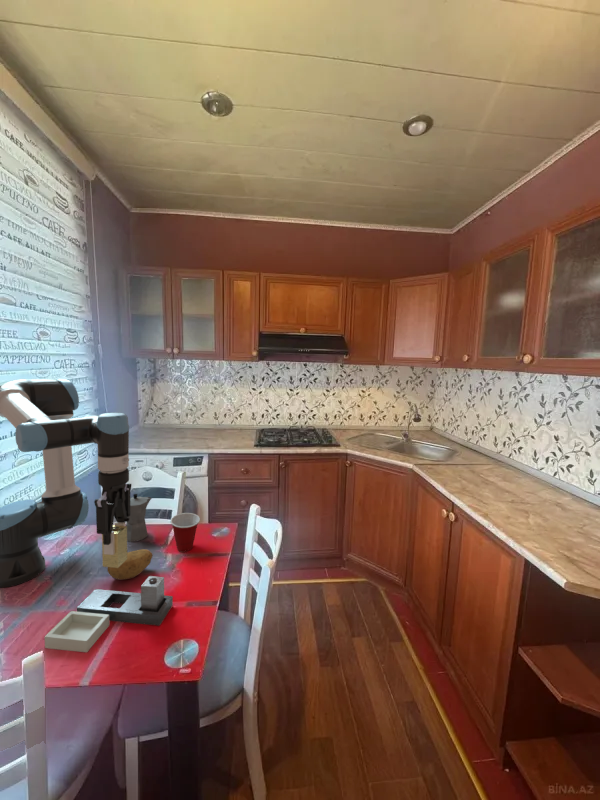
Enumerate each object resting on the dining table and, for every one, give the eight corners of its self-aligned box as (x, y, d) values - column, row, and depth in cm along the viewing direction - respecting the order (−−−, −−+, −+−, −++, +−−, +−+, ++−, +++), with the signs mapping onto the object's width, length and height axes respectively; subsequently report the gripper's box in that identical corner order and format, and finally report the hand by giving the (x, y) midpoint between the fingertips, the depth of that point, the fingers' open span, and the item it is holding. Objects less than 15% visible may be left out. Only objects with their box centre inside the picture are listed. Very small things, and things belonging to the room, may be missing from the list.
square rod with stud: (141, 619, 97) (141, 584, 96) (149, 607, 102) (149, 574, 100) (156, 620, 97) (156, 585, 96) (164, 609, 101) (164, 575, 100)
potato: (157, 574, 117) (157, 552, 116) (111, 591, 108) (111, 567, 107) (147, 561, 124) (147, 540, 124) (103, 576, 115) (103, 554, 114)
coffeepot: (146, 527, 150) (146, 486, 148) (156, 534, 143) (156, 493, 141) (108, 539, 138) (107, 496, 136) (117, 548, 132) (116, 503, 130)
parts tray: (45, 648, 86) (44, 636, 86) (71, 621, 95) (71, 611, 95) (86, 652, 85) (86, 640, 85) (109, 625, 94) (109, 614, 94)
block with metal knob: (102, 566, 96) (101, 531, 95) (112, 557, 101) (111, 523, 100) (118, 568, 96) (117, 532, 95) (127, 558, 101) (126, 524, 99)
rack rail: (76, 617, 97) (76, 607, 96) (95, 598, 105) (95, 589, 104) (159, 625, 95) (159, 615, 95) (172, 605, 103) (172, 596, 103)
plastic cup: (178, 559, 127) (178, 528, 125) (165, 547, 134) (165, 518, 133) (205, 548, 134) (205, 519, 133) (191, 538, 142) (191, 510, 141)
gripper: (106, 480, 86) (108, 568, 89) (143, 461, 104) (143, 534, 106) (78, 478, 87) (80, 565, 90) (119, 459, 104) (120, 532, 107)
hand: (114, 548), depth 98 cm, fingers closed on block with metal knob, 4 cm apart
